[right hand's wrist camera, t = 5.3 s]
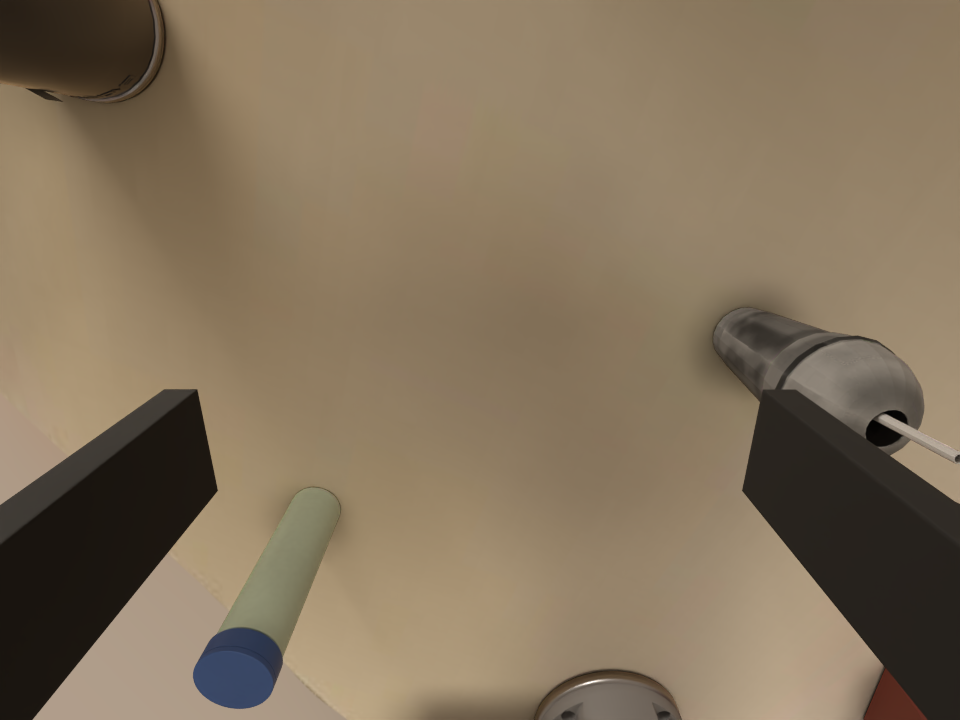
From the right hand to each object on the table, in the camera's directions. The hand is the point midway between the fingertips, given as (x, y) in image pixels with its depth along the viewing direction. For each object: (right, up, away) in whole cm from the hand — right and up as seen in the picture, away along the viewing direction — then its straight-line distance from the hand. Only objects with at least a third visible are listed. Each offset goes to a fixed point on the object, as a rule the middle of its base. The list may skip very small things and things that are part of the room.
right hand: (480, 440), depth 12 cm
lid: (-14, -17, +19) cm, 29 cm away
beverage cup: (+20, +4, +28) cm, 35 cm away
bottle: (-14, -11, +34) cm, 39 cm away
